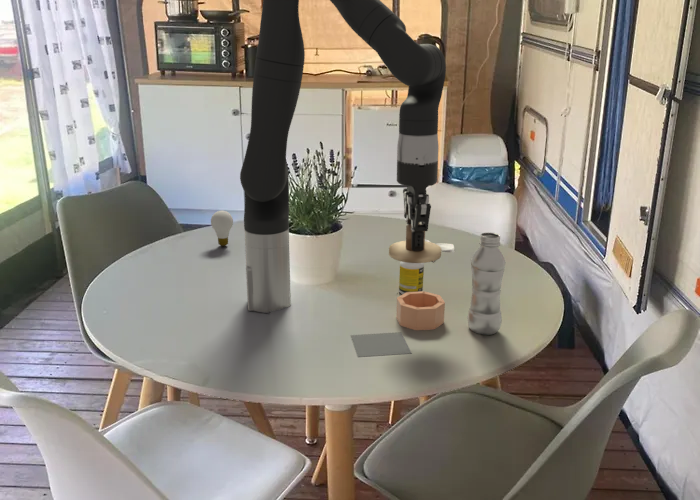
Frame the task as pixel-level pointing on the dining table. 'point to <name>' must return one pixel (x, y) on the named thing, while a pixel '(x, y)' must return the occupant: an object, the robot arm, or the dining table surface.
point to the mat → (380, 344)
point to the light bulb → (222, 226)
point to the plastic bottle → (486, 285)
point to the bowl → (420, 310)
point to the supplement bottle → (411, 277)
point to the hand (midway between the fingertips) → (414, 246)
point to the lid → (406, 254)
